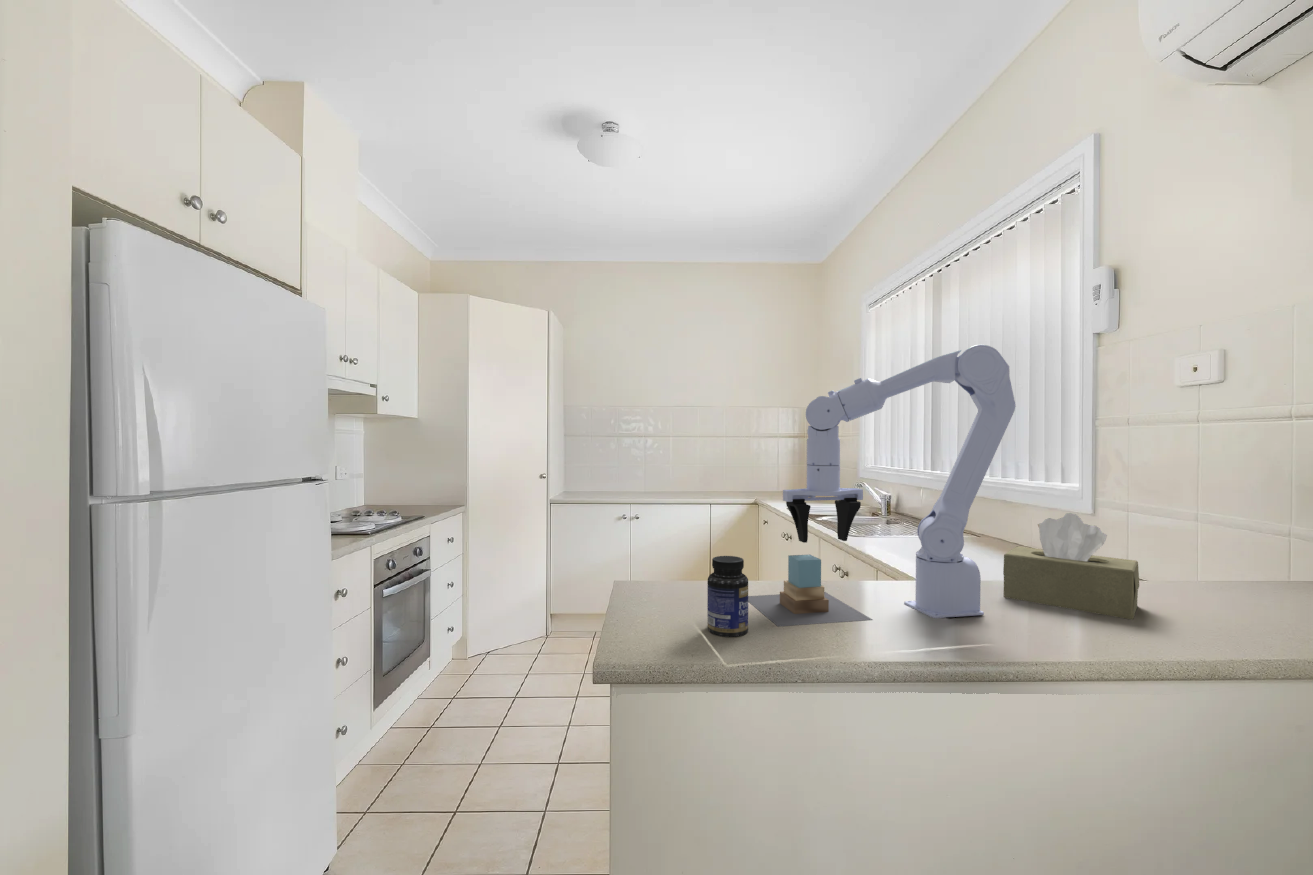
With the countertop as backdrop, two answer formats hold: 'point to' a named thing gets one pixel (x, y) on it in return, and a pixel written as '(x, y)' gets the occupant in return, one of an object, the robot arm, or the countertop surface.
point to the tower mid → (803, 592)
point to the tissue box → (1072, 571)
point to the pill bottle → (727, 597)
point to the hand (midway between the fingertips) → (822, 540)
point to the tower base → (804, 604)
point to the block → (804, 571)
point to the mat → (785, 617)
